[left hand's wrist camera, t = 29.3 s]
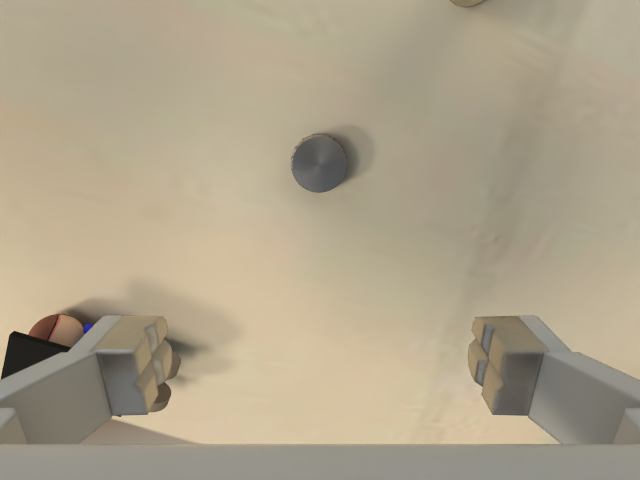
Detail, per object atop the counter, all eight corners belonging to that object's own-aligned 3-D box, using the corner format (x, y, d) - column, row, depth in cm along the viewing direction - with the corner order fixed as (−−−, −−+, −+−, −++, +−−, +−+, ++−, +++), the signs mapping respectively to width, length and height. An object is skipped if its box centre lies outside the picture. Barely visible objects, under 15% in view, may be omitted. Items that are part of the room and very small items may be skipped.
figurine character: (192, 329, 44) (48, 293, 40) (177, 377, 37) (1, 338, 33) (177, 373, 46) (39, 343, 43) (160, 427, 39) (-7, 395, 36)
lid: (345, 187, 37) (346, 192, 35) (293, 187, 37) (291, 193, 35) (346, 133, 35) (347, 136, 33) (291, 134, 35) (289, 136, 33)
